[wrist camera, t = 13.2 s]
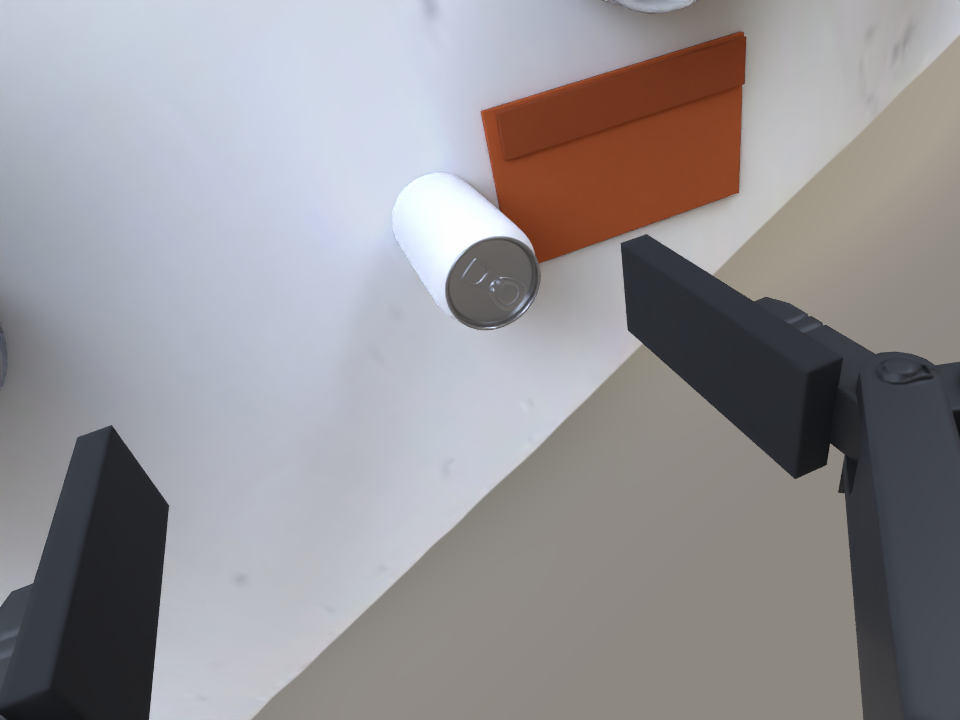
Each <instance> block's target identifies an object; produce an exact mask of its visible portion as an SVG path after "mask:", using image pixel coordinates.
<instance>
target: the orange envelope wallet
mask: <svg viewBox="0 0 960 720" xmlns="http://www.w3.org/2000/svg"><path fill="white" fill-rule="evenodd" d="M745 57H746V37H744V32H737V33H734V34H731V35H728V36H724V37H721V38H718V39H715V40H711V41H708V42H705V43H701V44H698V45H695V46H692V47H688V48H685V49H682V50H679V51H675V52H672V53H669V54H666V55H662V56H659V57H656V58H653V59H649V60H646V61H643V62H640V63H636V64H633V65H630V66H627V67H623V68H620V69H617V70H614V71H610V72H607V73H604V74H601V75H597V76H594V77H591V78H588V79H584V80H581V81H578V82H575V83H571V84H568V85H565V86H562V87H558V88H555V89H552V90H549V91H545V92H542V93H539V94H536V95H532V96H529V97H526V98H523V99H519V100H516V101H513V102H510V103H506V104H503V105H500V106H497V107H493V108H490V109H487V110H484V111H481V115H482V120H483V126H484V131H485V136H486V141H487V146H488V151H489V156H490V161H491V167H492V172H493V177H494V182H495V187H496V192H497V197H498V202H499V208H500V212H502V213H503V214H504V215H505V216H506V217H507V218H508V219H510V220H511V221H512V222H513V223H514V224H515V225H516V226H517V227H518V228H519V229H520V230H521V231H522V232H523V233H524V234H525V235H526V236H527V238H528V239H529V241H530V242H531V244H532V246H533V249H534V252H535V256H536V258H537V260H538V263H542V262H545V261H547V260H550V259H553V258H556V257H559V256H561V255H564V254H567V253H570V252H573V251H576V250H578V249H581V248H584V247H587V246H590V245H592V244H595V243H598V242H601V241H604V240H607V239H609V238H612V237H615V236H618V235H621V234H624V233H626V232H629V231H632V230H635V229H638V228H640V227H643V226H646V225H649V224H652V223H655V222H657V221H660V220H663V219H666V218H669V217H671V216H674V215H677V214H680V213H683V212H686V211H688V210H691V209H694V208H697V207H700V206H702V205H705V204H708V203H711V202H714V201H717V200H719V199H722V198H725V197H728V196H731V195H733V194H736V193H739V171H740V141H741V110H742V85H743V84H745Z"/></svg>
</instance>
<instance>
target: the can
mask: <svg viewBox="0 0 960 720" xmlns="http://www.w3.org/2000/svg"><path fill="white" fill-rule="evenodd" d="M392 228H393V233H394V236H395V238H396V240H397V242H398V244H399V246H400V247H401V249H402V251H403V252H404V254H405V255H406V257H407V259H408V260H409V262H410V263H411V265H412V266H413V268H414V270H415V271H416V273H417V274H418V276H419V277H420V279H421V280H422V282H423V284H424V285H425V287H426V288H427V290H428V291H429V293H430V294H431V296H432V297H433V299H434V300H435V302H436V303H437V304H438V306H439V307H440V308H441V309H442V310H443V311H444V312H445V313H446V314H447V315H448V316H450V317H451V318H453V319H455V320H457V321H460V322H461V323H462V324H464V325H466V326H468V327H470V328H474V329H478V330H493V329H498V328H501V327H504V326H506V325H508V324H510V323H512V322H514V321H515V320H517V319H518V318H519V317H521V316H522V315H523V314H524V313H525V312H526V311H527V310H528V308H529V307H530V306H531V304H532V303H533V301H534V299H535V297H536V295H537V292H538V289H539V285H540V277H541V275H540V266H539V263H538V260H537V258H536V256H535V252H534V249H533V246H532V244H531V242H530V241H529V239H528V238H527V236H526V235H525V234H524V233H523V232H522V231H521V230H520V229H519V228H518V227H517V226H516V225H515V224H514V223H513V222H512V221H511V220H510V219H508V218H507V217H506V216H505V215H504V214H503V213H502V212H500V211H499V210H498V209H497V208H496V207H495V206H494V205H493V204H491V203H490V202H489V201H488V200H487V199H486V198H484V197H483V196H482V195H481V194H480V193H479V192H478V191H476V190H475V189H474V188H473V187H472V186H470V185H469V184H468V183H467V182H465V181H464V180H463V179H461V178H459V177H457V176H455V175H452V174H449V173H440V172H439V173H430V174H426V175H423V176H421V177H419V178H417V179H415V180H414V181H412V182H411V183H410V184H408V185H407V186H406V187H405V188H404V189H403V191H402V192H401V193H400V195H399V196H398V198H397V200H396V202H395V205H394V208H393V213H392Z"/></svg>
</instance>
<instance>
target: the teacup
mask: <svg viewBox="0 0 960 720" xmlns="http://www.w3.org/2000/svg"><path fill="white" fill-rule="evenodd" d="M603 1H606V2H609V3H613V4H617V5H621V6H624V7H626V8H628V9H631V10H634V11H638V12H643V13H650V14H654V13H666V12H671V11H675V10H679V9H682V8H685V7H688V6H690V5H691V4H693V3H695V2H697V1H698V0H603Z"/></svg>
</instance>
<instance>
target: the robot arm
mask: <svg viewBox="0 0 960 720" xmlns="http://www.w3.org/2000/svg"><path fill="white" fill-rule="evenodd" d="M621 253H622V265H623V277H624V290H625V302H626V314H627V326H628V331H629V332H631V333H632V334H633V335H634V336H635V337H636V338H637V339H638V340H640V341H641V342H642V343H643V344H644V345H645V346H646V347H647V348H649V349H650V350H651V351H652V352H653V353H654V354H655V355H656V356H658V357H659V358H660V359H661V360H662V361H663V362H664V363H665V364H667V365H668V366H669V367H670V368H671V369H672V370H673V371H674V372H676V373H677V374H678V375H679V376H680V377H681V378H682V379H683V380H684V381H686V382H687V383H688V384H689V385H690V386H691V387H692V388H694V389H695V390H696V391H697V392H698V393H699V394H701V396H702V397H704V398H705V399H706V400H707V401H708V402H709V403H710V404H711V405H713V406H714V407H715V408H716V409H717V410H718V411H719V412H720V413H722V414H723V415H724V416H725V417H726V418H728V420H729V421H731V422H732V423H733V424H734V425H735V426H736V427H737V428H738V429H739V430H741V431H742V432H743V433H744V434H745V435H746V436H747V437H749V438H750V439H751V440H752V441H753V442H754V443H755V444H756V445H757V446H759V447H760V448H761V449H762V450H763V451H764V452H765V453H767V454H768V455H769V456H770V457H771V458H772V459H773V460H774V461H775V462H777V463H778V464H779V465H780V466H781V467H782V468H783V469H784V470H786V471H787V472H788V473H789V474H790V475H791V476H792V477H793V478H794V479H796V478H798V477H801V476H803V475H805V474H807V473H810V472H812V471H814V470H816V469H818V468H821V467H823V466H825V465H827V459H828V453H829V446H830V443H831V444H832V445H833V446H835V447H836V448H837V449H839V450H840V451H841V452H842V453H844V454H845V457H844V462H843V468H842V474H841V480H840V485H839V491H838V492H839V493H845V500H846V512H847V524H848V535H849V549H850V560H851V573H852V584H853V596H854V609H855V621H856V632H857V633H856V634H857V646H858V657H859V670H860V682H861V694H862V707H863V719H864V720H960V362H956V363H949V364H941V365H934V364H932V363H931V362H929V361H928V360H927V359H924V358H922V357H919V356H916V355H913V354H908V353H901V352H885V353H878V354H874V353H873V352H871V351H869V350H868V349H866V348H864V347H862V346H861V345H859V344H857V343H856V342H854V341H852V340H851V339H849V338H847V337H846V336H844V335H842V334H841V333H839V332H837V331H835V330H834V329H832V328H830V327H829V326H827V325H824V326H823V324H822V322H820V321H819V320H817V319H815V318H814V317H812V316H810V317H809V316H808V314H806V313H805V312H803V311H802V310H800V309H798V308H797V307H795V306H793V305H791V304H790V303H786V302H783V301H779V300H776V299H772V298H768V297H765V298H762V299H759V300H757V301H752V300H750V299H749V298H747V297H746V296H744V295H742V294H741V293H739V292H738V291H736V290H735V289H733V288H731V287H730V286H728V285H727V284H725V283H723V282H722V281H720V280H719V279H717V278H715V277H714V276H712V275H711V274H709V273H707V272H706V271H704V270H703V269H701V268H699V267H698V266H696V265H695V264H693V263H691V262H690V261H688V260H687V259H685V258H684V257H682V256H680V255H679V254H677V253H676V252H674V251H672V250H671V249H669V248H668V247H666V246H664V245H663V244H661V243H660V242H658V241H656V240H655V239H653V238H652V237H650V236H648V235H647V234H646V235H643V236H640V237H637V238H635V239H632V240H629V241H626V242H623V243H621ZM6 368H7V350H6V343H5V339H4V336H3V332H2V330H1V327H0V389H1V387H2V385H3V382H4V378H5V375H6ZM168 511H169V505H168V503H167V502H166V501H165V499H164V498H163V496H162V495H161V494H160V492H159V491H158V489H157V488H156V487H155V485H154V484H153V482H152V481H151V480H150V478H149V477H148V475H147V474H146V473H145V471H144V470H143V468H142V467H141V466H140V464H139V463H138V461H137V460H136V459H135V457H134V456H133V454H132V453H131V452H130V450H129V449H128V447H127V446H126V444H125V443H124V442H123V440H122V439H121V437H120V436H119V435H118V433H117V432H116V430H115V429H114V428H113V426H112V425H111V426H108V427H105V428H103V429H100V430H97V431H94V432H91V433H89V434H86V435H83V436H80V437H77V441H76V444H75V447H74V451H73V454H72V457H71V461H70V464H69V467H68V471H67V474H66V477H65V480H64V484H63V487H62V490H61V494H60V497H59V500H58V504H57V507H56V510H55V514H54V517H53V520H52V523H51V527H50V530H49V533H48V537H47V540H46V543H45V547H44V550H43V553H42V557H41V560H40V563H39V566H38V570H37V573H36V576H35V580H34V583H33V584H30V585H28V586H25V587H23V588H20V589H18V590H15V591H12V592H11V593H10V595H9V596H8V597H7V599H6V600H5V602H4V603H3V604H2V606H1V607H0V720H149V713H150V702H151V691H152V681H153V670H154V660H155V649H156V638H157V628H158V617H159V607H160V596H161V585H162V575H163V564H164V554H165V543H166V532H167V522H168Z"/></svg>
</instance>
